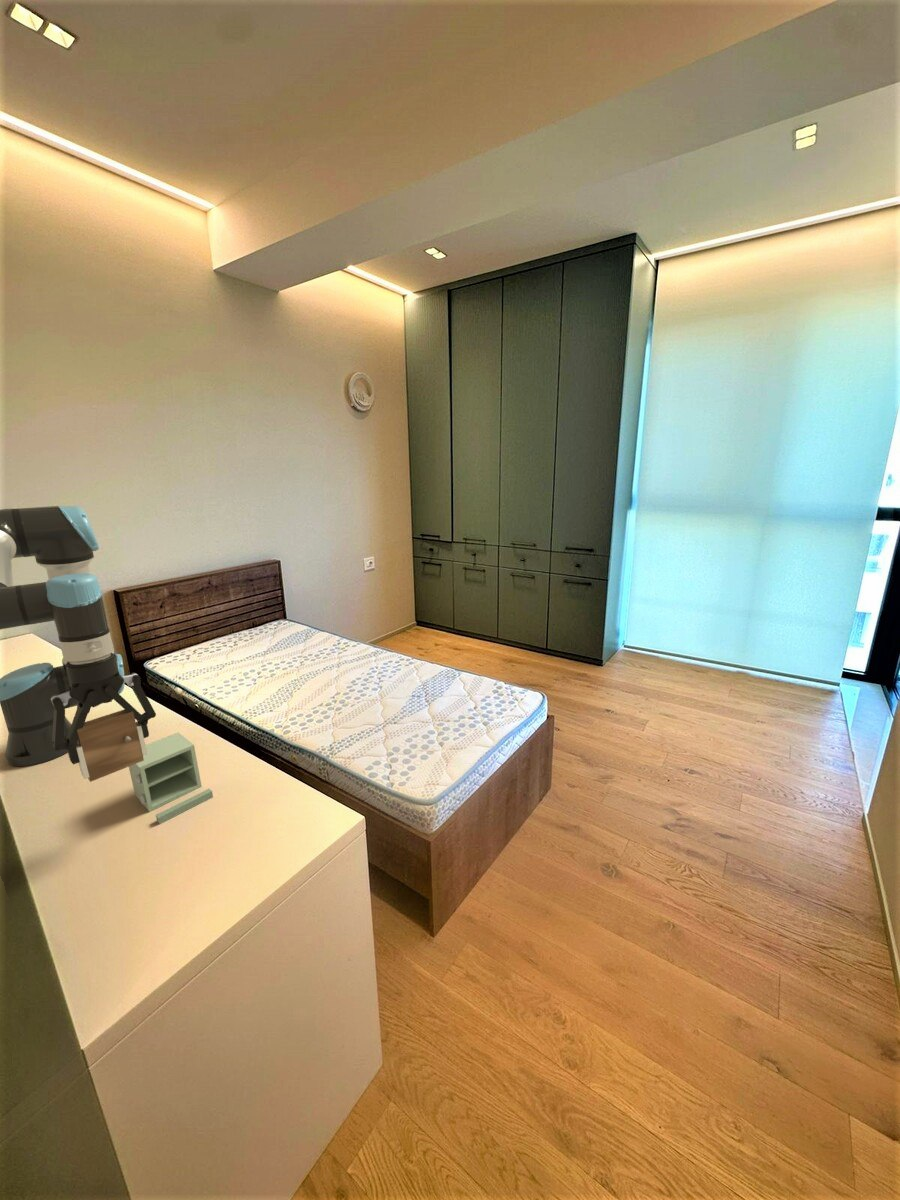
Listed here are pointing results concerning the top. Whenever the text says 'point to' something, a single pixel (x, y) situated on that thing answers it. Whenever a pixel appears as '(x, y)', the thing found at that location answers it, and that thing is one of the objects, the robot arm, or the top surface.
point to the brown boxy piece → (110, 743)
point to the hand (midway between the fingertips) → (115, 763)
